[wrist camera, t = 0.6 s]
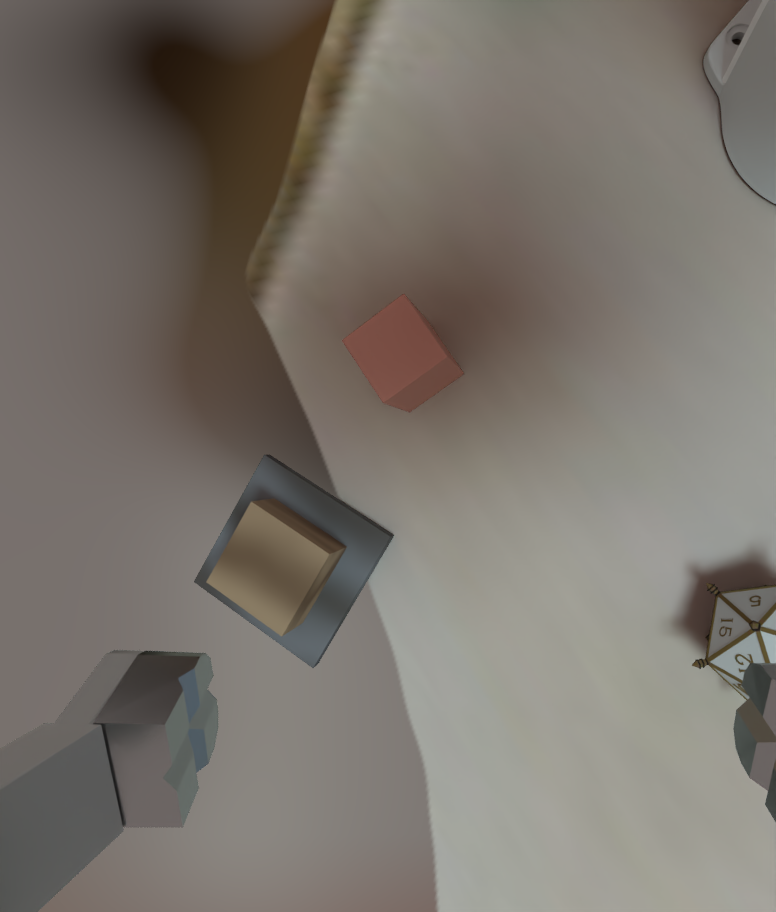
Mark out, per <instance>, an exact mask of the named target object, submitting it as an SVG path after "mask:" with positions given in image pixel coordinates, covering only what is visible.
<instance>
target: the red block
mask: <svg viewBox="0 0 776 912" xmlns="http://www.w3.org/2000/svg"><path fill="white" fill-rule="evenodd" d="M342 342H343V343H344V345H345V346H346V348H347V349H348V351H349V352H350V354H351V355H352V357H353V358H354V360H355V361H356V363H357V364H358V366H359V367H360V369H361V370H362V372H363V373H364V375H365V376H366V378H367V379H368V381H369V382H370V384H371V385H372V387H373V388H374V390H375V391H376V393H377V394H378V396H379V397H380V399H381V400H382V402H383V403H385V404H387V405H390V406H393V407H396V408H399V409H402V410H405V411H408V412H411V411H412V410H414V409H415V408H417V407H418V406H419V405H421V404H422V403H424V402H425V401H426V400H428V399H429V398H431V397H432V396H434V395H435V394H436V393H438V392H439V391H441V390H442V389H443V388H445V387H446V386H448V385H449V384H450V383H452V382H453V381H455V380H456V379H457V378H459V377H460V376H462V375H463V374H464V373H463V371H462V370H461V368H460V367H459V366H458V364H457V363H456V361H455V360H454V358H453V357H452V355H451V354H450V353H449V351H448V350H447V348H446V347H445V345H444V344H443V342H442V341H441V339H440V338H439V337H438V335H437V334H436V332H435V331H434V329H433V328H432V326H431V325H430V324H429V322H428V321H427V319H426V318H425V317H424V316H423V315H422V314H421V313H420V311H419V310H418V309H417V308H416V307H415V306H414V305H413V303H412V302H411V301H410V300H409V299H408V298H407V297H406V296H405V294H402V295H401V296H400V297H398V298H397V299H396V300H394V301H393V302H392V303H390V304H389V305H388V306H387V307H385V308H384V309H383V310H381V311H380V312H379V313H377V314H376V315H375V316H373V317H372V318H371V319H369V320H368V321H367V322H365V323H364V324H363V325H361V326H360V327H359V328H357V329H356V330H355V331H353V332H352V333H351V334H349V335H348V336H347V337H346V338H344V339H343V340H342Z"/></svg>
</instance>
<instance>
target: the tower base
mask: <svg viewBox="0 0 776 912" xmlns="http://www.w3.org/2000/svg"><path fill="white" fill-rule="evenodd" d="M393 536H394V535H393V534H391V533H389V532H388V531H386V530H385V529H383V528H382V527H380V526H379V525H377V524H376V523H374V522H373V521H371V520H369V519H368V518H366V517H365V516H363V515H362V514H360V513H359V512H357V511H356V510H354V509H352V508H351V507H349V506H348V505H346V504H345V503H343V502H342V501H340V500H339V499H337V498H336V497H334V496H332V495H331V494H329V493H328V492H326V491H325V490H323V489H322V488H320V487H319V486H317V485H315V484H314V483H312V482H311V481H309V480H308V479H306V478H305V477H303V476H301V475H300V474H299V473H297V472H295V471H294V470H292V469H291V468H289V467H288V466H286V465H285V464H283V463H282V462H280V461H278V460H277V459H275V458H274V457H272V456H271V455H264V456H263V458H262V460H261V462H260V464H259V465H258V467H257V469H256V471H255V473H254V474H253V476H252V478H251V480H250V482H249V483H248V485H247V487H246V489H245V491H244V493H243V494H242V496H241V498H240V500H239V502H238V503H237V505H236V507H235V509H234V510H233V512H232V514H231V516H230V518H229V519H228V521H227V523H226V525H225V527H224V528H223V530H222V532H221V534H220V536H219V537H218V539H217V541H216V543H215V545H214V547H213V548H212V550H211V552H210V554H209V556H208V557H207V559H206V561H205V563H204V565H203V566H202V568H201V570H200V572H199V573H198V575H197V577H196V579H195V581H194V582H195V583H197V584H198V585H199V586H200V587H202V588H203V589H205V590H206V591H207V592H209V593H210V594H211V595H213V596H214V597H216V598H217V599H218V600H220V601H221V602H223V603H224V604H225V605H227V606H228V607H230V608H231V609H232V610H234V611H235V612H236V613H238V614H239V615H240V616H242V617H243V618H245V619H246V620H247V621H249V622H250V623H251V624H253V625H254V626H256V627H257V628H258V629H260V630H261V631H262V632H264V633H265V634H267V635H268V636H269V637H271V638H272V639H273V640H275V641H276V642H278V643H279V644H280V645H282V646H283V647H285V648H286V649H287V650H289V651H290V652H291V653H293V654H294V655H296V656H297V657H298V658H300V659H301V660H302V661H304V662H305V663H307V664H308V665H309V666H311V667H312V668H314V667H315V666H316V665H317V664H318V663H319V661H320V659H321V658H322V656H323V654H324V653H325V651H326V649H327V648H328V646H329V644H330V643H331V641H332V639H333V637H334V636H335V634H336V632H337V631H338V629H339V627H340V626H341V624H342V622H343V620H344V619H345V617H346V616H347V614H348V612H349V611H350V609H351V607H352V605H353V603H354V602H355V600H356V599H357V597H358V595H359V594H360V592H361V590H362V588H363V587H364V585H365V583H366V582H367V580H368V579H369V577H370V575H371V574H372V572H373V570H374V568H375V567H376V565H377V563H378V562H379V560H380V558H381V557H382V555H383V553H384V552H385V550H386V548H387V547H388V545H389V543H390V541H391V540H392V538H393Z"/></svg>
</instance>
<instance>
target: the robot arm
mask: <svg viewBox="0 0 776 912" xmlns="http://www.w3.org/2000/svg"><path fill="white" fill-rule="evenodd" d="M733 39H740V40H741V43H740V45H735V44H733V43H732V40H733ZM703 66H704V70H705V73H706V75H707V77H708V79H709V81H710V83H711V85H712V87H713V88H714V90H715V92H716V93H717V95H718V97H719V100H720V106H721V120H722V132H723V138H724V143H725V146H726V149H727V152H728V155H729V157H730V159H731V161H732V163H733V165H734V167H735V168H736V170H737V171H738V173H739V174H740V176H741V177H742V178H743V179H744V180H745V182H746V183H747V184H748V185H749V186H750V187H751V188H752V189H754V190H755V191H756V192H757V193H758V194H760V195H761V196H763V197H764V198H766V199H767V200H769V201H771V202H772V203H774V204H776V0H749V1H748V2H747V3H746V4H745V5H744V6H743V7H742V9H741V10H740V11H739V12H738V13H737V14H736V16H735V17H734V18H733V19H732V20H731V21H730V22H729V24H728V25H727V26H726V27H725V28H724V29H723V31H722V32H721V33H720V34H719V35H718V36H717V38H716V39H715V40H714V41H713V42H712V44H711V45H710V47H709V49H708V50H707V52H706V54H705V56H704V60H703ZM212 678H213V670H212V664H211V658H210V657H209V656H208V655H207V654H206V653H188V652H164V651H144V652H143V651H127V650H114V651H111V652H109V653H107V654H106V655H105V656H104V657H103V658H102V660H101V661H100V662H99V664H98V665H97V666H96V668H95V669H94V671H93V672H92V673H91V675H90V676H89V677H88V679H87V680H86V681H85V683H84V684H83V685H82V687H81V688H80V689H79V691H78V692H77V693H76V695H75V696H74V697H73V699H72V700H71V701H70V703H69V704H68V706H67V707H66V708H65V709H64V711H63V712H62V713H61V715H60V716H59V717H58V719H57V720H56V722H55V723H44V724H42V725H40V726H39V727H37V728H35V729H34V730H32V731H30V732H28V733H26V734H25V735H23V736H21V737H19V738H18V739H16V740H14V741H13V742H11V743H9V744H7V745H5V746H4V747H2V748H0V912H38V911H39V910H40V909H41V908H42V907H43V906H44V905H45V904H46V903H47V902H48V901H50V900H51V899H52V898H53V897H54V896H55V895H56V894H57V893H58V892H59V891H60V890H61V889H62V888H63V887H64V886H65V885H67V884H68V883H69V882H70V881H71V880H72V879H73V878H74V877H75V876H76V875H77V874H78V873H79V872H80V871H81V870H83V869H84V868H85V867H86V866H87V865H88V864H89V863H90V862H91V861H92V860H93V859H94V858H95V857H96V856H97V855H98V854H100V853H101V852H102V851H103V850H104V849H105V848H106V847H107V846H108V845H109V844H110V843H111V842H112V841H113V840H114V839H116V838H117V837H118V836H119V835H120V834H121V833H122V832H123V830H124V829H123V827H183V825H184V823H185V821H186V818H187V816H188V813H189V811H190V808H191V806H192V803H193V801H194V799H195V796H196V794H197V791H198V788H199V786H198V780H197V772H198V771H199V770H201V769H202V768H203V767H205V766H206V765H207V764H208V763H209V761H210V758H211V755H212V753H213V750H214V747H215V742H216V736H217V731H218V705H217V699H216V698H215V697H214V696H213V695H212V694H211V693H210V691H209V690H207V689H208V686H209V684H210V682H211V680H212ZM742 687H743V688H744V690H745V691H746V693H747V694H748V696H749V697H750V698H749V699H748V700H747V701H746V702H745V703H743V704H742V705H741V706H740V707H739V708H738V709H737V710H736V716H735V722H734V737H735V745H736V750H737V753H738V755H739V758H740V761H741V764H742V765H743V767H744V769H745V771H746V772H747V774H748V776H749V778H751V779H752V780H753V781H755V782H756V783H758V784H759V785H760V786H762V787H763V788H765V789H766V790H768V794H767V798H766V803H765V805H766V807H767V808H768V810H769V812H770V813H771V815H772V817H773V818H774V820H775V822H776V663H750V664H749V666H748V667H747V669H746V670H745V672H744V677H743V681H742Z"/></svg>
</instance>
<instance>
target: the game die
mask: <svg viewBox="0 0 776 912" xmlns="http://www.w3.org/2000/svg"><path fill="white" fill-rule="evenodd" d="M706 585H707V588H708V591H710V592H711V593H713V594H715V596H716V597H715V603H714V609H713V615H712V621H711V627H710V634H709V635H708V636H707V637H706V639H707V640H708V646H707V652H706V658H705V659H699V660H696V661H695V662H694V663H693V665H692V666H695V667H698V668H700V669H701V667H703V668H704V667H705V666H706V665H709V666H710V667H711V668H712V669H713V670H715V671H716V672H717V673H718V674H719V675H720V676H721V677H722V678H723V679H724V680H725V681H726V682H728V683H729V684H730V685H731V686H732V687H733V688H734V689H735V690H736V691H737V692H738V693H739V694H740V695H742V696H743V697H744V698H745V699H746V700H748V699H749V698H750V697H749V696H748V694H747V693H746V691H745V690H744V688H743V687H742V681H743V677H744V672H745V670H746V669H747V667H748V666H749V664H750V663H776V585H770V586H766V585H765V586H762V587H755V588H747V589H739V590H731V591H724V592H719V591H718V589H717V587H715V586H714V585H715V584H714V585H713V584H709V583H706Z"/></svg>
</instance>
